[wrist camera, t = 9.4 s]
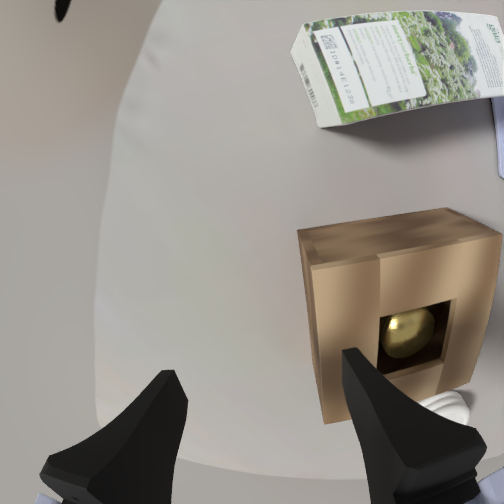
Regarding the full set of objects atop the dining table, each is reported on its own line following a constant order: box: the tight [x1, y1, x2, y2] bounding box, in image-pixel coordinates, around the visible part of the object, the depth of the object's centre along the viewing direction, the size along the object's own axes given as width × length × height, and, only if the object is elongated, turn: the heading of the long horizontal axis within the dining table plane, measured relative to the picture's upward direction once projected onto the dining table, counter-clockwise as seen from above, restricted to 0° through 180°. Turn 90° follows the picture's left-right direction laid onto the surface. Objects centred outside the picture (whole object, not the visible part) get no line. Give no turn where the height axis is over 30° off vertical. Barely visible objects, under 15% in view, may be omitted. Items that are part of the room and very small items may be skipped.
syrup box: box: [291, 11, 504, 128], centre depth 13 cm, size 6×6×14 cm
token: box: [379, 307, 435, 358], centre depth 19 cm, size 4×4×5 cm
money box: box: [297, 208, 502, 424], centre depth 19 cm, size 12×12×7 cm
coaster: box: [418, 391, 470, 425], centre depth 26 cm, size 10×10×4 cm
